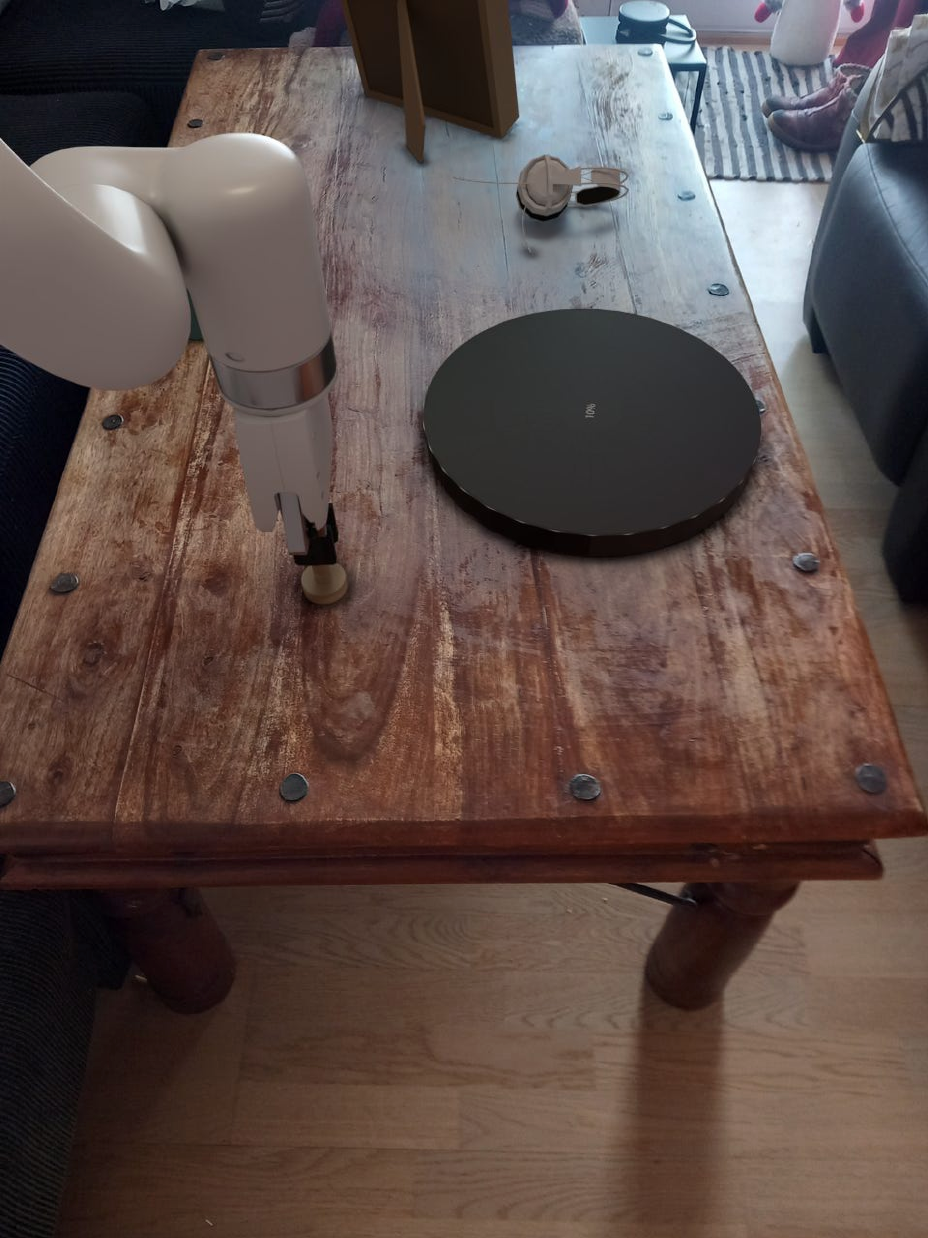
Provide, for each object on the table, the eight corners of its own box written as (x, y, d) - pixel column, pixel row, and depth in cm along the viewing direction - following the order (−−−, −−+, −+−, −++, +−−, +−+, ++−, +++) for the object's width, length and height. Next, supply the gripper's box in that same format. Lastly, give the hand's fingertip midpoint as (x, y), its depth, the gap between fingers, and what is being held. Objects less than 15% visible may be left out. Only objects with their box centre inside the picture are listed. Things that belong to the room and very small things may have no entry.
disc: (429, 333, 94) (427, 307, 91) (724, 329, 93) (731, 304, 91) (419, 560, 76) (417, 536, 74) (783, 557, 75) (793, 533, 73)
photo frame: (383, 83, 126) (364, -147, 106) (519, 124, 118) (526, -115, 98) (315, 129, 119) (281, -109, 98) (455, 176, 111) (448, -70, 91)
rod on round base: (301, 605, 73) (279, 521, 65) (305, 570, 76) (283, 484, 68) (346, 603, 73) (329, 519, 65) (348, 568, 76) (332, 483, 68)
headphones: (445, 206, 107) (614, 199, 108) (454, 258, 101) (632, 249, 102) (445, 135, 100) (626, 128, 101) (454, 186, 94) (645, 178, 96)
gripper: (228, 282, 61) (278, 480, 76) (193, 448, 51) (258, 635, 66) (342, 279, 61) (369, 477, 76) (327, 444, 51) (361, 632, 66)
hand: (317, 550), depth 71 cm, fingers closed on rod on round base, 1 cm apart
